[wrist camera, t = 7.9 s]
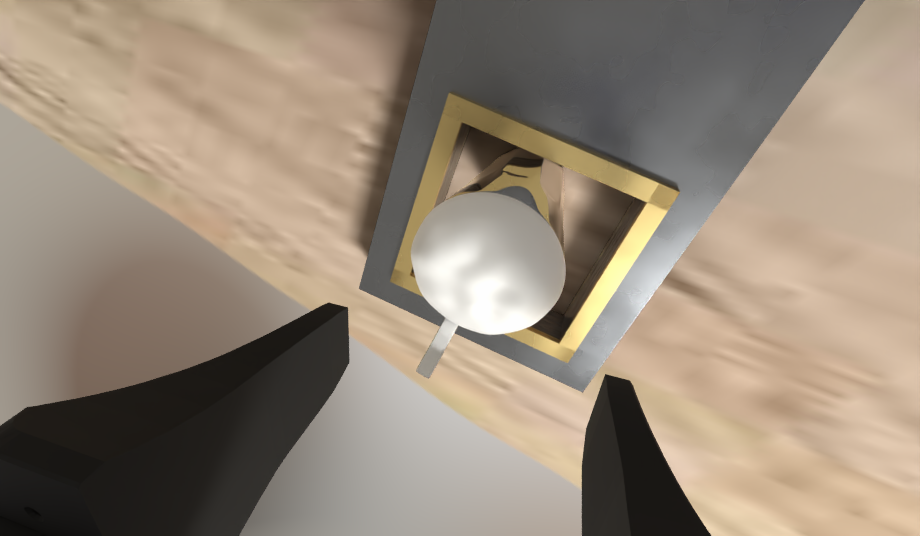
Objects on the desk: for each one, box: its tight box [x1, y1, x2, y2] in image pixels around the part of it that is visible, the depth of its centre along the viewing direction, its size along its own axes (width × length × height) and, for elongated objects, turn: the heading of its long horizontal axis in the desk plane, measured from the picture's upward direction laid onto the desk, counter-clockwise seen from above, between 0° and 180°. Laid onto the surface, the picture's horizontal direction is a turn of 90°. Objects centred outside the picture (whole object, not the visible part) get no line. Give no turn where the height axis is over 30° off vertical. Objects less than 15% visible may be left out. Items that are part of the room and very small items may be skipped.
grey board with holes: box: [359, 0, 865, 392], centre depth 17 cm, size 12×26×2 cm, turn 161°
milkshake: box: [411, 147, 566, 378], centre depth 17 cm, size 4×5×10 cm
